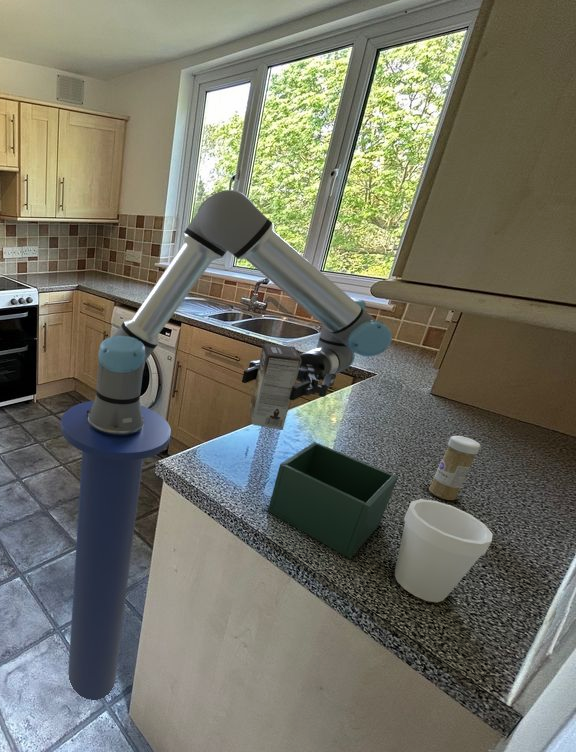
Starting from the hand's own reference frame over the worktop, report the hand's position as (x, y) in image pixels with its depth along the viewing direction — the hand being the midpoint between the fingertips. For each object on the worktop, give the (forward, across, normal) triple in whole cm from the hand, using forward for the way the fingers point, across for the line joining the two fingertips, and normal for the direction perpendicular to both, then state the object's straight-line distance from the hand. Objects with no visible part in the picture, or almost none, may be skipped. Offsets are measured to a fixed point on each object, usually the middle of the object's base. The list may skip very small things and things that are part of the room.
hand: (267, 385), depth 85 cm
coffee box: (-3, 0, -9) cm, 9 cm away
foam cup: (+6, -33, -22) cm, 40 cm away
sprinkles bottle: (-28, -29, -22) cm, 46 cm away
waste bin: (+2, -17, -22) cm, 28 cm away
